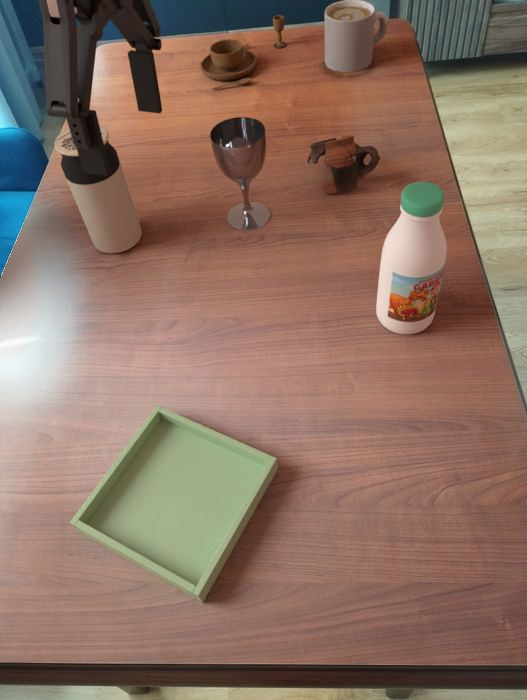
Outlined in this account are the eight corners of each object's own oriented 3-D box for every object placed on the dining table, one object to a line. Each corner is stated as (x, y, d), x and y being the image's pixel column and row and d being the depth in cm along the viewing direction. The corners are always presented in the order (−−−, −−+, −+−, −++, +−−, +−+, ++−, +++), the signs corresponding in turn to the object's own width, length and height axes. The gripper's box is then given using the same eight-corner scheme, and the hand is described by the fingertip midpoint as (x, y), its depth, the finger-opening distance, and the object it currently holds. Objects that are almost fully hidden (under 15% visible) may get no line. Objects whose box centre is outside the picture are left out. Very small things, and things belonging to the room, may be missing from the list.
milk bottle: (365, 322, 79) (374, 202, 63) (391, 286, 83) (406, 164, 67) (418, 344, 76) (442, 223, 60) (443, 306, 79) (471, 182, 64)
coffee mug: (330, 75, 121) (331, 24, 113) (319, 54, 127) (319, 4, 119) (393, 65, 121) (398, 13, 113) (380, 44, 127) (383, -7, 119)
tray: (77, 531, 64) (69, 522, 62) (161, 415, 72) (156, 404, 70) (202, 603, 58) (198, 596, 56) (278, 468, 67) (277, 458, 65)
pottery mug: (307, 199, 97) (298, 147, 94) (321, 189, 105) (313, 141, 102) (379, 187, 92) (372, 132, 89) (388, 177, 100) (381, 127, 97)
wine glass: (214, 216, 96) (199, 133, 84) (251, 194, 98) (241, 110, 87) (244, 239, 91) (233, 155, 80) (283, 215, 94) (276, 130, 82)
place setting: (197, 55, 131) (192, 28, 127) (284, 40, 132) (282, 12, 128) (206, 93, 120) (202, 65, 116) (301, 77, 121) (300, 48, 117)
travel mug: (151, 238, 93) (120, 136, 79) (108, 262, 91) (68, 161, 77) (126, 215, 98) (92, 115, 84) (84, 237, 95) (42, 138, 81)
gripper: (34, -56, 39) (105, 209, 55) (173, -131, 55) (197, 92, 71) (-60, -62, 41) (35, 198, 57) (101, -133, 57) (140, 86, 73)
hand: (125, 139), depth 64 cm, fingers open, 13 cm apart
